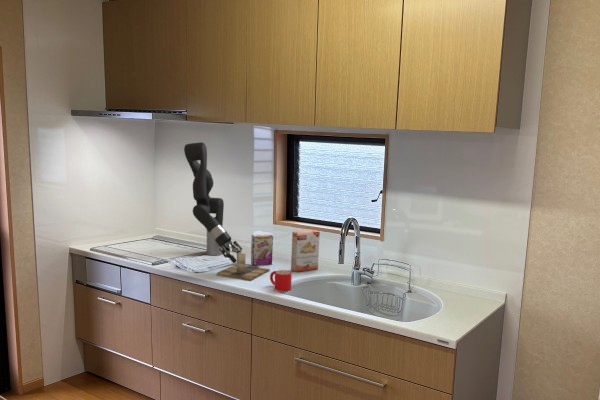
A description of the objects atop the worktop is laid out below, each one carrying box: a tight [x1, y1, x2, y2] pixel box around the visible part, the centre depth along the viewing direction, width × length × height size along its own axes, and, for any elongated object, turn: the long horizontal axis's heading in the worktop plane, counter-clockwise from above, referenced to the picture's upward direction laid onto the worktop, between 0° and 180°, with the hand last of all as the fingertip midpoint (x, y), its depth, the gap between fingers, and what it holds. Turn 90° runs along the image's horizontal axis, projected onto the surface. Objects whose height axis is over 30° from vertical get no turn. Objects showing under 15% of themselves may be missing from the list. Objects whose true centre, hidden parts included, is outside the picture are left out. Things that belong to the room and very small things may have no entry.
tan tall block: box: [236, 251, 247, 274], centre depth 270 cm, size 4×4×10 cm
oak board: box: [216, 263, 270, 282], centre depth 275 cm, size 20×20×1 cm
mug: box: [269, 269, 293, 292], centre depth 252 cm, size 8×12×8 cm, turn 54°
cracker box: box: [290, 229, 321, 273], centre depth 284 cm, size 14×6×21 cm, turn 121°
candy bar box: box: [250, 233, 274, 266], centre depth 292 cm, size 11×5×16 cm, turn 110°
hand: (239, 260), depth 271 cm, fingers open, 8 cm apart
